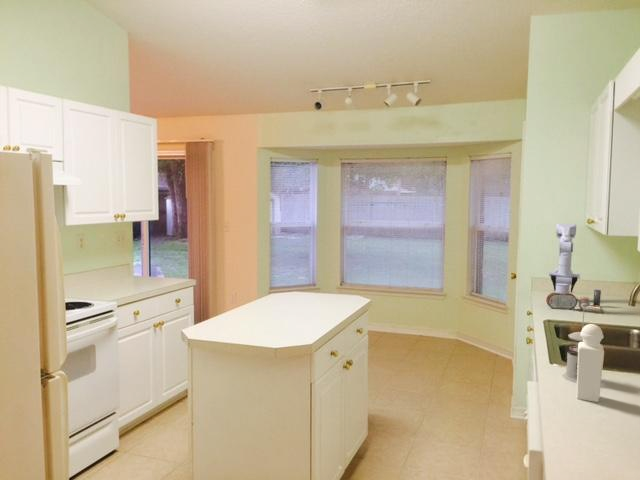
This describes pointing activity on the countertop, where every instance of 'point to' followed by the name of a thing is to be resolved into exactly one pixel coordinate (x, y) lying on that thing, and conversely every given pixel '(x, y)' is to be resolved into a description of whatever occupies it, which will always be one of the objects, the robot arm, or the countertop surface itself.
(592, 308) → the drawing board
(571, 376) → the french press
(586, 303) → the button base
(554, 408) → the countertop surface
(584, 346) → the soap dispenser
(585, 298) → the button
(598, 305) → the cylinder
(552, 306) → the tin
